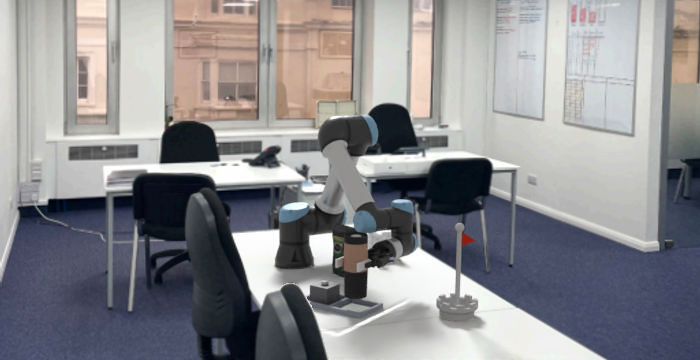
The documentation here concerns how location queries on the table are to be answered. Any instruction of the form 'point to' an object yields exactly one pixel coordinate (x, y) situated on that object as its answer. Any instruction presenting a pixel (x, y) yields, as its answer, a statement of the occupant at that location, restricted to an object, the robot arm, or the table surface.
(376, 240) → the cable organizer
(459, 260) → the flag stand
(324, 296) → the seated block
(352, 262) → the travel mug
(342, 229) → the coffee jar
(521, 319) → the table surface
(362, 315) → the dock
